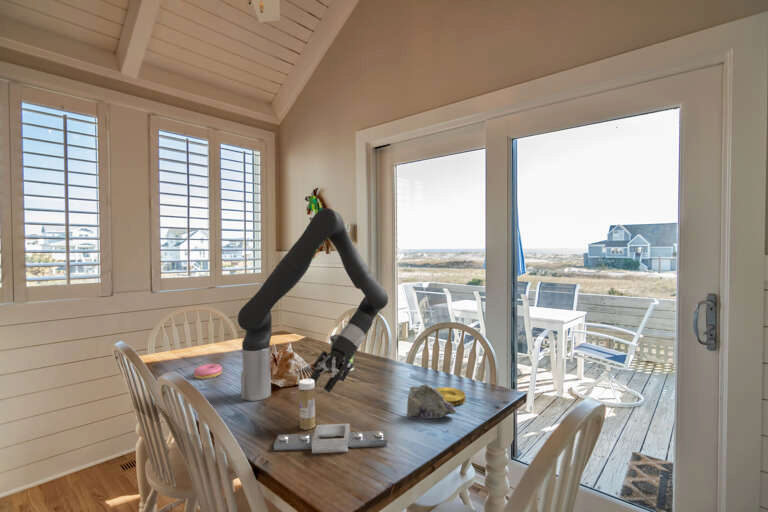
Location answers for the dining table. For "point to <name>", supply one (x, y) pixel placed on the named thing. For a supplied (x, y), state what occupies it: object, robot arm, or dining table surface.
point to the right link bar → (367, 439)
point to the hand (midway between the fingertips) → (318, 386)
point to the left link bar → (293, 442)
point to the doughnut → (208, 371)
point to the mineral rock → (427, 403)
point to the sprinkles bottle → (307, 404)
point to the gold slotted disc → (452, 395)
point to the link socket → (330, 444)
